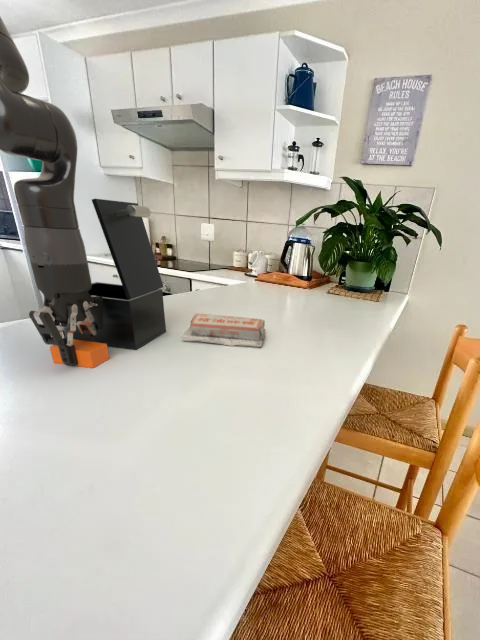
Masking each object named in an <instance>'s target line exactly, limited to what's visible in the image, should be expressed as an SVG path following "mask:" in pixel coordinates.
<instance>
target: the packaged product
mask: <svg viewBox="0 0 480 640" xmlns="http://www.w3.org/2000/svg"><path fill="white" fill-rule="evenodd" d="M265 326H266V324H265V320H264V319H261V318H251V317H243V316H232V315H231V316H230V315H221V314H210V313H194V314H193V317H192V319H191V320H190V324H189V328H187V329H186V330H185V331H184V332H183V333H182V335H180V340H181V341H182V342H198V343H199V342H201V343H210V344H217V345H218V344H219V345H225V346H229V347H230V346H231V347H232V346H233V347H234V346H240V347H253V348H262V346H263V343H264V341H265V337H266V333H267V331H266V328H265Z"/></svg>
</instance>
